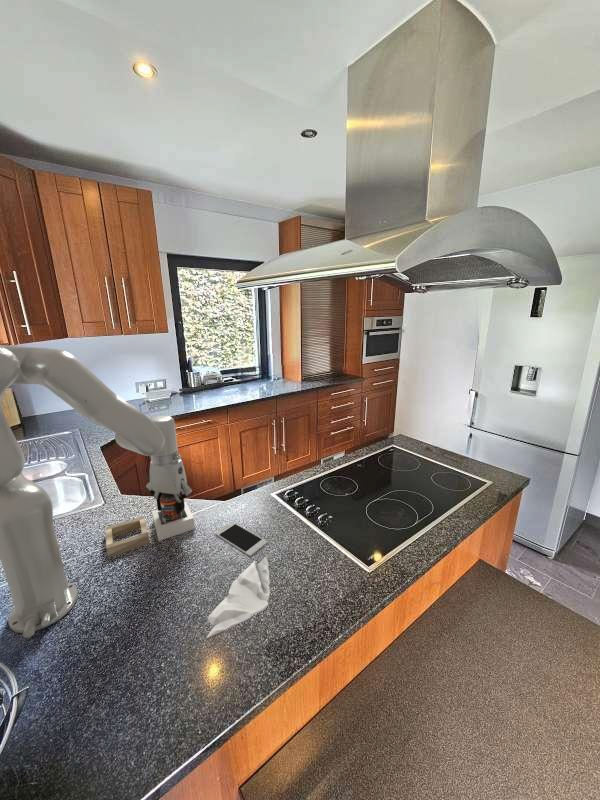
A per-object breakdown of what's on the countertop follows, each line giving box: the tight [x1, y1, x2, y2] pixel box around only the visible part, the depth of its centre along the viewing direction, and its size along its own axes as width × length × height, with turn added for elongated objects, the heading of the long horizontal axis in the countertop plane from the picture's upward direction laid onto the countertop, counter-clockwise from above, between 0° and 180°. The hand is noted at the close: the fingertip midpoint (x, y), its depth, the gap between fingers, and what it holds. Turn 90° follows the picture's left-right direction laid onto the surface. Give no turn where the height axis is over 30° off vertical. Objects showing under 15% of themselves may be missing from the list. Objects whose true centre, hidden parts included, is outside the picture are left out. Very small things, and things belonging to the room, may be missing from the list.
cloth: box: [206, 554, 271, 639], centre depth 78 cm, size 26×14×2 cm, turn 144°
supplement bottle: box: [160, 493, 183, 525], centre depth 101 cm, size 6×6×11 cm
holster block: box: [105, 515, 151, 558], centre depth 96 cm, size 11×11×3 cm
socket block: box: [151, 501, 196, 542], centre depth 103 cm, size 11×11×5 cm
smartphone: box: [215, 521, 268, 557], centre depth 97 cm, size 7×15×1 cm, turn 52°
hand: (171, 509), depth 101 cm, fingers closed on supplement bottle, 5 cm apart
